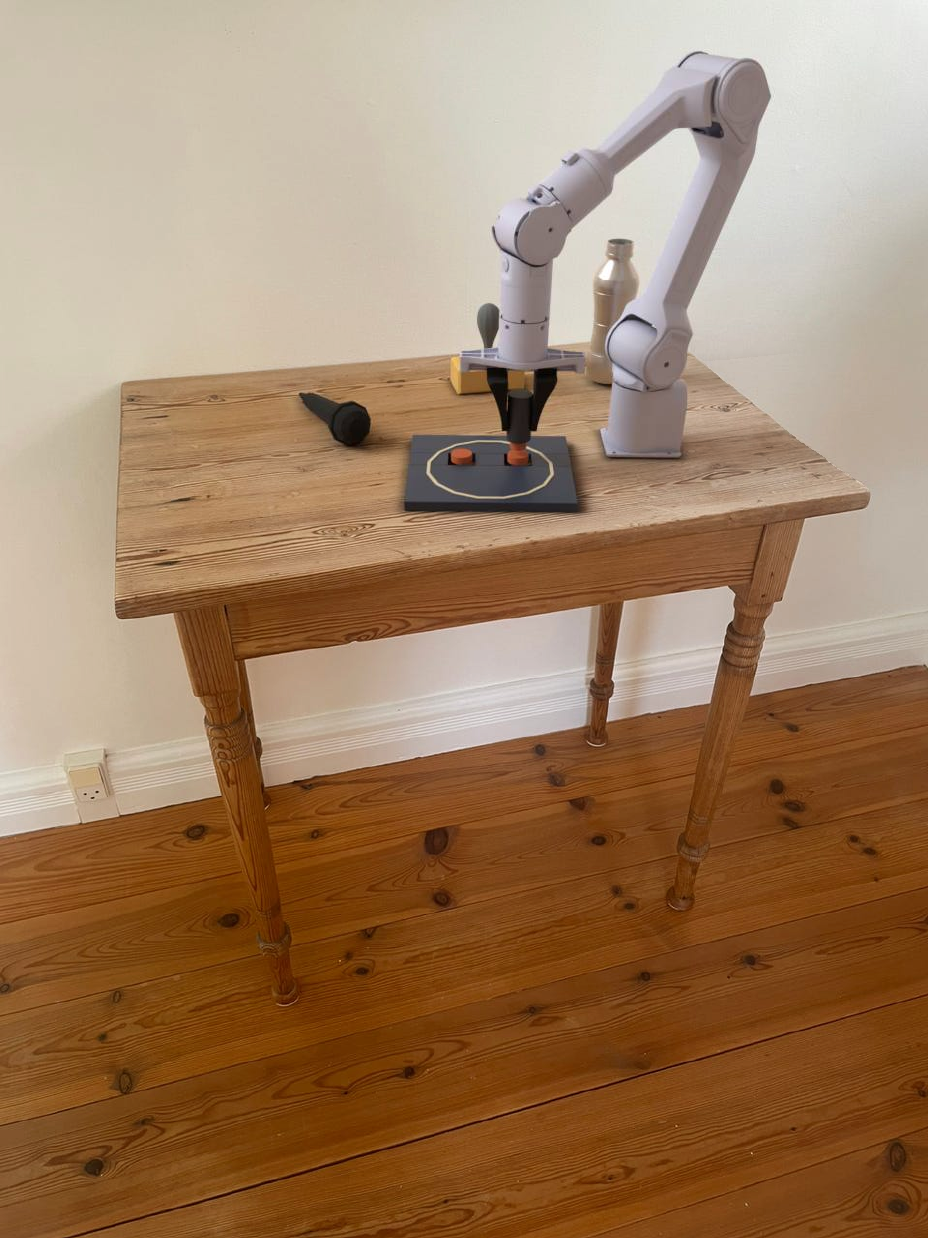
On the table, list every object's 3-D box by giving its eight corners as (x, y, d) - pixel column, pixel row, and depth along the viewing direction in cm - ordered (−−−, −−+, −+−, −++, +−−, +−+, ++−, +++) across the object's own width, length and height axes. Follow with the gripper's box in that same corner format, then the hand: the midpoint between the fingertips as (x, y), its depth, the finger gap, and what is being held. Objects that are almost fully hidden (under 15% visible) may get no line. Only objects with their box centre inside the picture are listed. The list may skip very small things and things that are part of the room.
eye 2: (527, 456, 116) (528, 448, 115) (528, 465, 114) (529, 458, 113) (507, 456, 116) (507, 448, 115) (507, 465, 114) (508, 458, 113)
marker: (529, 442, 115) (532, 388, 111) (530, 453, 112) (533, 398, 108) (505, 442, 115) (507, 388, 111) (506, 452, 112) (508, 398, 108)
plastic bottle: (631, 389, 136) (648, 248, 124) (585, 389, 136) (598, 247, 124) (626, 373, 141) (642, 235, 129) (582, 372, 141) (593, 235, 130)
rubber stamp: (514, 375, 140) (517, 295, 133) (524, 389, 136) (528, 307, 129) (450, 380, 138) (450, 299, 131) (458, 395, 134) (458, 312, 127)
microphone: (293, 421, 133) (350, 458, 118) (275, 385, 130) (331, 419, 115) (324, 402, 135) (385, 437, 120) (308, 367, 131) (367, 398, 116)
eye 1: (472, 455, 116) (472, 448, 115) (472, 465, 114) (472, 457, 113) (451, 455, 116) (451, 448, 115) (451, 464, 114) (451, 457, 113)
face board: (564, 444, 121) (565, 435, 120) (577, 512, 106) (578, 502, 106) (412, 442, 121) (412, 433, 120) (404, 510, 106) (404, 500, 106)
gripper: (585, 305, 107) (575, 414, 115) (460, 304, 107) (460, 413, 115) (591, 325, 102) (581, 439, 110) (459, 324, 102) (459, 437, 110)
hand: (519, 427), depth 112 cm, fingers closed on marker, 3 cm apart
